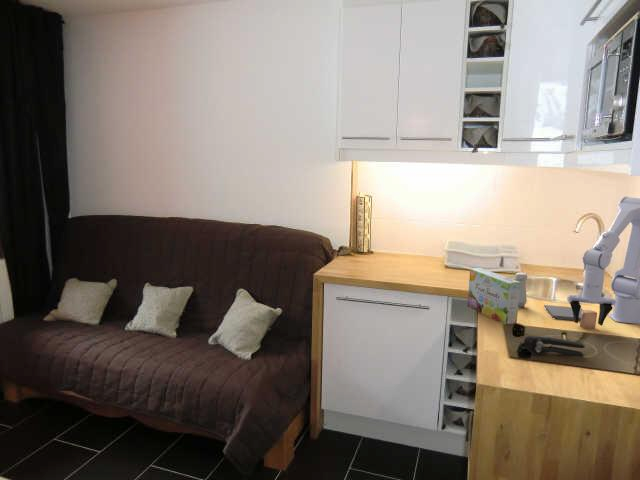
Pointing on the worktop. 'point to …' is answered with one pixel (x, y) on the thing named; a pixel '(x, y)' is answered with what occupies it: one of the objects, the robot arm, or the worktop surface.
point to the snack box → (494, 295)
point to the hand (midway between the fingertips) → (587, 323)
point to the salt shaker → (522, 288)
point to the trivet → (562, 312)
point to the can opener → (538, 348)
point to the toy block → (588, 319)
